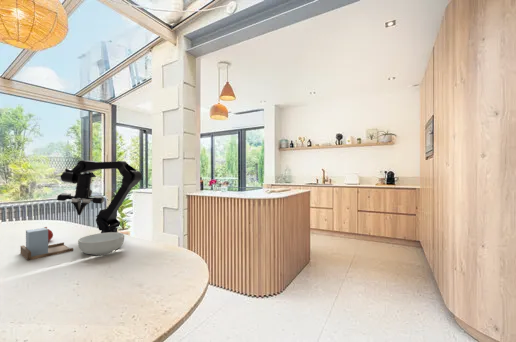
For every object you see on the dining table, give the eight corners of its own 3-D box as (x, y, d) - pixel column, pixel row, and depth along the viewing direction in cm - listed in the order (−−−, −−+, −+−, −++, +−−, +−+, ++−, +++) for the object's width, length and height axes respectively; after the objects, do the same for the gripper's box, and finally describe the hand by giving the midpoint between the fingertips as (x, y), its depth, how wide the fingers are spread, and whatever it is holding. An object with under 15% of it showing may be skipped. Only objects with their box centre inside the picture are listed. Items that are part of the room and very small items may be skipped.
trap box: (63, 246, 113) (63, 238, 112) (73, 252, 105) (73, 243, 105) (20, 255, 101) (20, 245, 101) (27, 263, 93) (27, 252, 93)
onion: (45, 245, 114) (45, 228, 114) (33, 245, 114) (33, 228, 114) (56, 241, 120) (56, 225, 120) (44, 241, 120) (44, 225, 120)
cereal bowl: (132, 247, 112) (132, 232, 112) (106, 261, 96) (106, 243, 96) (98, 245, 114) (98, 231, 114) (67, 259, 98) (67, 241, 97)
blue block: (45, 250, 104) (44, 227, 104) (48, 253, 101) (48, 229, 101) (26, 254, 99) (25, 230, 99) (28, 257, 96) (28, 232, 96)
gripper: (108, 184, 134) (104, 212, 134) (67, 180, 127) (63, 210, 127) (103, 187, 123) (99, 217, 124) (58, 183, 116) (54, 215, 117)
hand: (79, 215), depth 123 cm, fingers closed
